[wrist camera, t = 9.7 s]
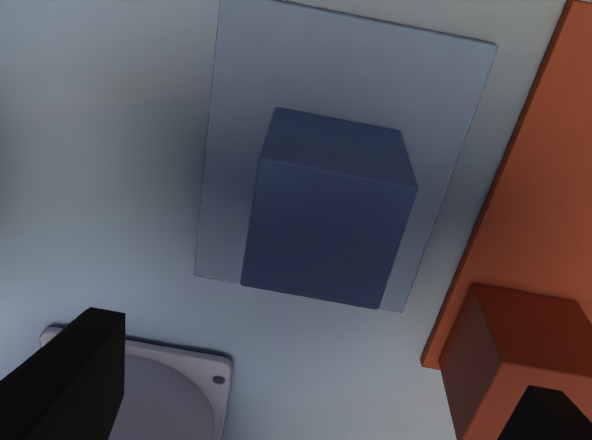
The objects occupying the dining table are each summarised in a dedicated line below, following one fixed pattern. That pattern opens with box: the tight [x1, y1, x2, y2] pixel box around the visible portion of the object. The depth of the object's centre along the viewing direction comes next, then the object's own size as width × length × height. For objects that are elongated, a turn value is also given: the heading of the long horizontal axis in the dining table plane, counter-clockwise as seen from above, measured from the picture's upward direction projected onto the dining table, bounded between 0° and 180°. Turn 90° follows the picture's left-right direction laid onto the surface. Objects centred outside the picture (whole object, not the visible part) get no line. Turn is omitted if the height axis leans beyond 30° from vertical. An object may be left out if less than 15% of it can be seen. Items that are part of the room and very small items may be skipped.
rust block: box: [438, 283, 592, 440], centre depth 18 cm, size 4×4×4 cm
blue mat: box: [194, 0, 498, 313], centre depth 17 cm, size 10×8×1 cm
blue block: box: [240, 107, 418, 310], centre depth 15 cm, size 4×4×4 cm
